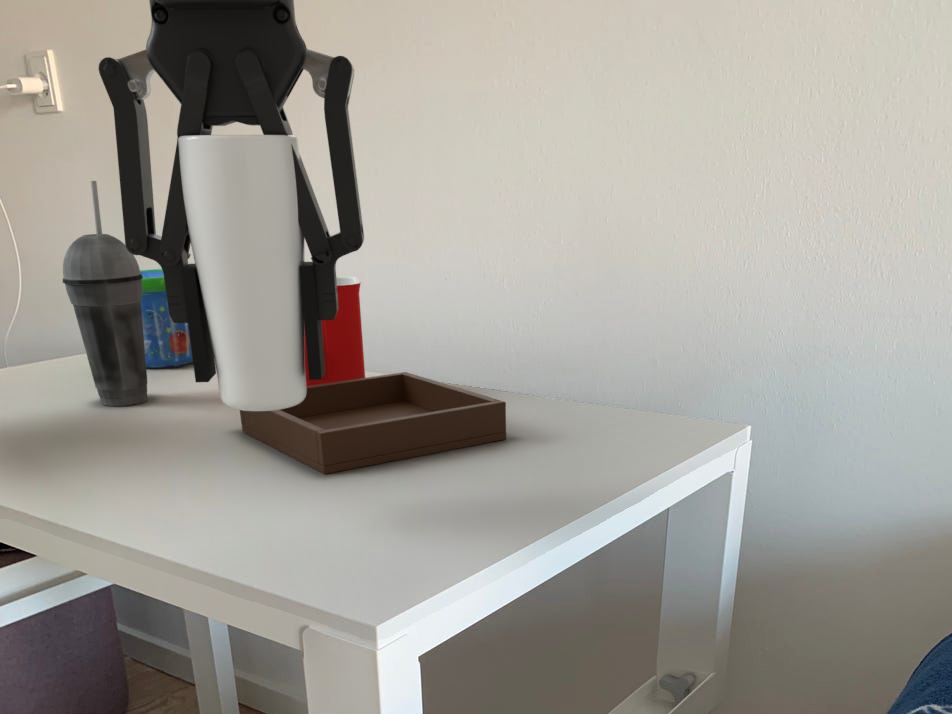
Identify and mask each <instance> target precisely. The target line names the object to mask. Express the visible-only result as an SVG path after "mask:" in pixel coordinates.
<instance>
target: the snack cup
mask: <svg viewBox="0 0 952 714" xmlns="http://www.w3.org/2000/svg"><path fill="white" fill-rule="evenodd" d="M140 273H141V274H142V276H143V279H141V280H142V300H141V308H142V320H143V333H144V346H145V358H146V368H149V369H160V368H161V369H163V368H170V367H171V368H172V367H180V366H184V365H188V364H193V358H192V351H191V343H190V336H189V328H188V323H173V321H172V319H171V317H170V315H169V309H168V302H167V295H166V288H165V281H164V274H163V270H162V268H154V269H140Z"/></svg>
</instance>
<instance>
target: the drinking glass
mask: <svg viewBox="0 0 952 714" xmlns="http://www.w3.org/2000/svg"><path fill="white" fill-rule="evenodd" d="M177 138H178V137H177ZM178 144H179V157H180V170H181V180H182V189H183V197H184V204H185V210H186V216H187V226H188V232H189V237H190V242H191V244H190V247H191V251H192V255H193V261H194V264H195V266H196V270H197V275H198V280H199V285H200V290H201V294H202V299H203V304H204V309H205V314H206V319H207V324H208V329H209V334H210V339H211V344H212V349H213V354H214V360H215V368H216V377H217V384H218V393H219V397H220V400H221V402H222V403H223V404H224V405H225V406H226V407H228V408H231V409H233V410H237V411H240V410H243V411H272V410H280V409H286V408H290V407H293V406H296V405H298V404H300V403H301V402H302V401H303V400H304V399H305V397H306V394H307V384H306V371H305V323H304V311H303V300H302V288H301V276H300V266H301V265H304V264H305V262H306V259H305V258H306V251H305V250H306V240H305V238H304V235H303V233H302V230H301V227H300V225H299V222H298V203H297V189H296V178H295V169H294V161H293V153H292V146H293V149H294V151H295V153H296V155H297V157H298V159H299V160H300V156H301V155H300V156H299V154H300V151H299V150H300V149H299V141H298V137H297V136H296V135H294V134H293V135H288V136H287V135H264V134H211V135H189V136H180V137H179V138H178ZM291 144H292V146H291Z"/></svg>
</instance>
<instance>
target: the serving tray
mask: <svg viewBox="0 0 952 714" xmlns="http://www.w3.org/2000/svg"><path fill="white" fill-rule="evenodd" d="M239 416H240V424H241V431H242V432H243V433H244V434H246V435H248V436H250V437H252V438H254V439H256V440H258V441H260V442H261V443H264V444H265V445H267V446H269V447H271V448H273V449H275V450H277V451H279V452H281V453H283V454H285V455H287V456H289V457H291V458H293V459H294V460H296V461H298V462H301V463H302V464H304V465H306V466H308V467H309V468H312V469H313V470H316V471H317V472H320V473H321V474H323V475H326V474H327V475H328V474H334V473H338V472H343V471H349V470H353V469H359V468H363V467H368V466H374V465H380V464H385V463H390V462H395V461H400V460H405V459H410V458H416V457H420V456H425V455H431V454H437V453H442V452H447V451H452V450H456V449H463V448H467V447H473V446H477V445H478V446H479V445H484V444H489V443H493V442H498V441H504V440H507V403H506V401H503V400H500V399H497V398H494V397H491V396H487V395H484V394H481V393H477V392H475V391H471V390H468V389H464V388H460V387H457V386H455V385H454V386H453V385H451V384H448V383H444V382H440V381H437V380H434V379H432V378H431V379H430V378H428V377H424V376H421V375H420V376H419V375H417V374H415V373H411V372H407V371H403V372H396V373H389V374H381V375H375V376H367V377H365V378H360V379H354V380H347V381H340V382H333V383H326V384H319V385H312V386H307V394H306V397H305V399H304V400H303V401H302V402H301V403H300V404H298V405H296V406H293V407H290V408H286V409H280V410H272V411H243V410H239Z"/></svg>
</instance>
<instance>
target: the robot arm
mask: <svg viewBox="0 0 952 714" xmlns="http://www.w3.org/2000/svg"><path fill="white" fill-rule="evenodd" d="M148 1H149V9H150V15H151V27H150V31H149V35H148V38H147V41H146V45H145V49H144V50H141V51H137V52H134V53H132V54H129V55H126V56H123V57H120V58H113V57H109V56H108V57H103V58H102V59H100V62H99V63H98V73H99V76H100V78H101V81H102V83H103V85H104V88H105V91H106V93H107V96H108V97H109V100H110V103H111V105H112V108H113V119H114V129H115V140H116V142H115V143H116V153H117V154H116V155H117V163H118V164H117V165H118V176H119V188H120V198H121V199H120V200H121V211H122V223H123V233H124V244H125V245H126V248H127V249H128V251H129V252H130V253H132V254H133V255H134V256H141V257H143V258H147V259H149V260H151V261H154V262H156V263H157V264H158V265H159V266H160V269H162V270H163V274H164V281H165V288H166V295H167V302H168V309H169V315H170V317H171V319H172V321H173V323H188V328H189V336H190V343H191V351H192V358H193V362H192V365H193V373H194V381H195V383H209V382H210V381H211V380H212V379H213V377H214V376H215V375H217V370H216V364H215V359H214V354H213V349H212V344H211V339H210V334H209V329H208V324H207V319H206V314H205V309H204V304H203V299H202V294H201V290H200V285H199V280H198V275H197V270H196V266H195V263H189V259H190V258H191V255H192V254H191V253H190V248H191V242H190V237H189V232H188V226H187V216H186V210H185V204H184V197H183V189H182V180H181V170H180V157H179V144H178V138H179V137H180V136H189V135H212V131H213V127H225V126H228V125H231V124H235V123H240V124H243V125H247V126H251V127H252V126H259V127H260V130H261V131H262V135H287V136H288V135H294V134H293V131H292V128H291V125H290V122H289V120H288V117H287V114H286V112H285V109H284V106H285V104H286V101H287V100H288V99H289V97H290V95H291V93H292V92H293V89H294V88H295V86H296V84H297V83H298V81H299V79H300V77H301V76H302V73H303V72H304V71H305V72H307V73H308V74H309V75H310V76H311V81H312V89H313V91H314V93H315V95H317V96H318V97H320V98H322V99H323V101H324V102H323V112H324V121H325V129H326V136H327V144H328V152H329V157H330V167H331V173H332V174H331V175H332V180H333V181H332V182H333V189H334V195H335V196H334V197H335V202H336V210H337V217H338V219H337V220H338V226H339V232H336V233H334V234H332V235H331V234H330V231H329V229H328V226H327V224H326V221H325V218H324V215H323V213H322V210H321V207H320V204H319V202H318V200H317V197H316V194H315V191H314V189H313V186H312V184H311V180H310V178H309V176H308V172H307V170H306V167H305V164H304V162H303V160H302V157H301V153H299V156H300V160H299V159H298V157H297V155H296V153H295V151H294V149H293V146H292V144H291V146H292V153H293V161H294V169H295V178H296V189H297V203H298V222H299V225H300V227H301V230H302V233H303V235H304V238H305V244H306V246H307V248H308V251H309V254H310V256H311V257H310V260H311V261H305V264H304V265H301V266H300V276H301V288H302V300H303V311H304V323H305V335H306V347H307V358H308V370H309V380H322V378H323V375H324V373H325V362H324V349H323V336H322V323H321V320H334V319H335V317H336V314H337V311H338V295H337V280H336V276H337V267H336V266H337V262H338V260H339V259H340V258H342V257H344V256H346V255H349V254H351V253H354V252H358V251H359V250H360V249H361V248H362V246H363V244H364V243H365V242H364V241H365V233H364V232H365V231H364V225H363V224H364V223H363V219H362V218H363V217H362V209H361V200H360V192H359V184H358V177H357V169H356V160H355V153H354V146H353V136H352V128H351V119H350V113H349V104H350V98H351V94H352V88H353V84H354V77H355V69H354V65H353V64H352V62H351V61H350V60H349V59H348V58H347V57H345V56H344V55H337V56H335V57H334V56H331V55H327V54H324V53H321V52H319V51H315V50H312V49H309V48H307V45H306V42H305V41H304V39H303V37H302V35H301V34H300V31H299V28H298V26H297V25H298V24H297V21H296V11H295V0H148ZM154 73H156V75H158V76H159V78H160V79H161V80H162V82H163V83H164V84H165V85H166V87H167V88H168V89H169V91H170V92H171V93H172V95H173V96H174V97H175V99H176V100H177V101H178V103H179V104H180V110H179V115H178V123H177V129H176V137H177V138H176V146H175V152H174V158H173V163H172V171H171V176H170V183H169V188H168V195H167V201H166V207H165V214H164V220H163V226H162V230H161V231H162V232H161V235H158V234H157V231H156V216H155V203H154V191H153V189H154V188H153V177H152V175H153V174H152V162H151V149H150V137H149V136H150V135H149V134H150V133H149V122H148V114H147V107H146V105H145V104H146V103H145V101H144V100H146V99H148V98H149V97H150V96H151V92H152V87H151V78H152V77H153V75H154Z"/></svg>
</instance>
